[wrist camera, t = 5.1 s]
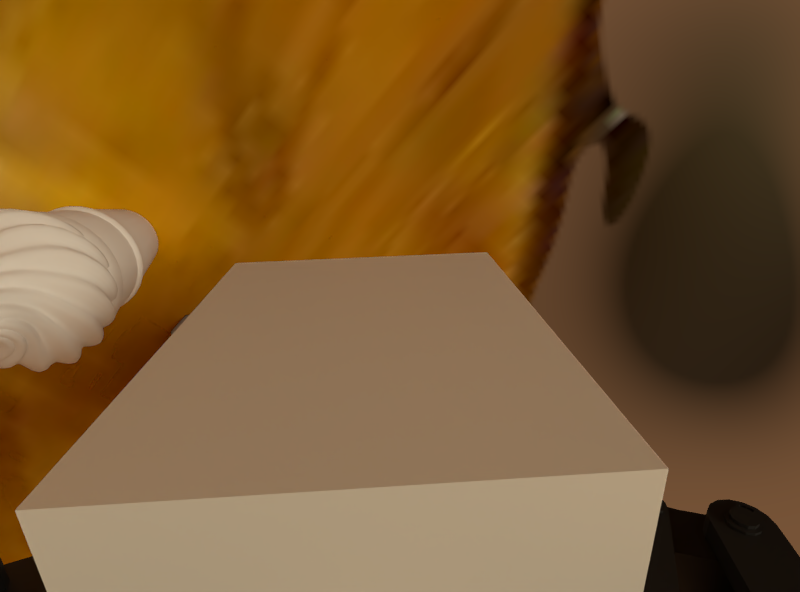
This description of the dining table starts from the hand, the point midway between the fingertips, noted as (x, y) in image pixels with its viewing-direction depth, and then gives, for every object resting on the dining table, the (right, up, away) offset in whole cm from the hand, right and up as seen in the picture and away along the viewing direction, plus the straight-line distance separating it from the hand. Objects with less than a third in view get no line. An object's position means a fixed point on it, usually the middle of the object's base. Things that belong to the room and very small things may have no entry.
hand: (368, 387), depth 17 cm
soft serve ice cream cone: (-18, +7, +18) cm, 26 cm away
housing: (0, 0, +1) cm, 1 cm away
